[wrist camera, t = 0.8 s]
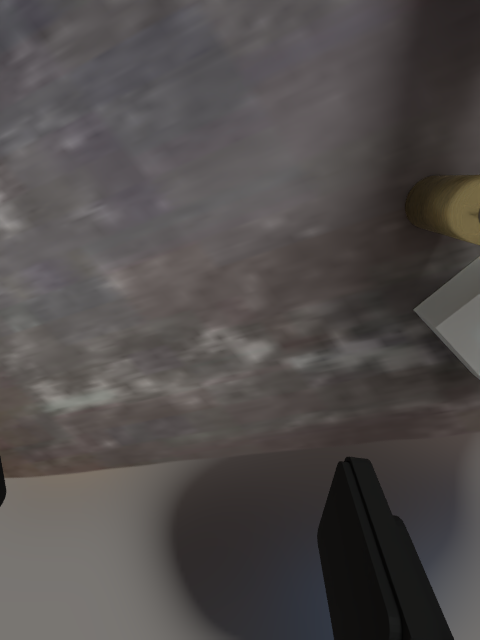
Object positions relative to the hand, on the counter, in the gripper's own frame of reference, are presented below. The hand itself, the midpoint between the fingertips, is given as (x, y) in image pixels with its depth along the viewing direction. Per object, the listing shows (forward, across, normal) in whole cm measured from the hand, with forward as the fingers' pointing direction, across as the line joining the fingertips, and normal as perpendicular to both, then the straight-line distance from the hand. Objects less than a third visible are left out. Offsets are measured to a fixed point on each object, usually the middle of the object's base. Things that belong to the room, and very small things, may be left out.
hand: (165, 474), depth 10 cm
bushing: (+26, -17, -8) cm, 32 cm away
